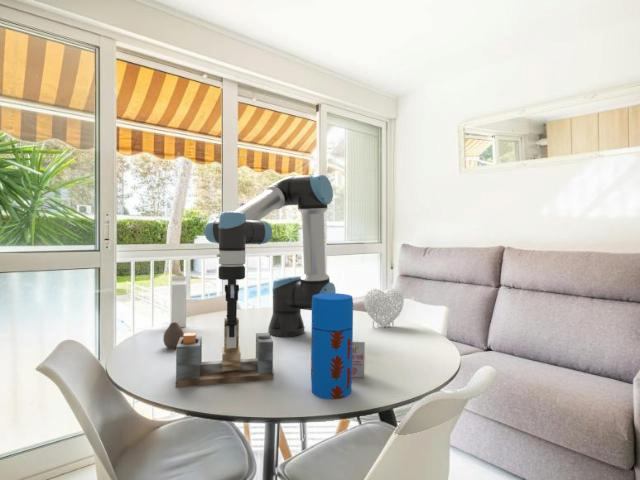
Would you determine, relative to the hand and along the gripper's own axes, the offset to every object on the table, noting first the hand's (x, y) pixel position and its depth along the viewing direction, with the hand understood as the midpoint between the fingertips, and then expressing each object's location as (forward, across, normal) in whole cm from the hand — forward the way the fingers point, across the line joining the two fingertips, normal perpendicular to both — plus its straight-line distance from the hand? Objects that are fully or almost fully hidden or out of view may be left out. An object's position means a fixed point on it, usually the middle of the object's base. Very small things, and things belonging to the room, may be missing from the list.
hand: (231, 345), depth 111 cm
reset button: (-1, 0, -11) cm, 12 cm away
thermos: (+9, +17, +25) cm, 32 cm away
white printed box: (+9, +8, +34) cm, 36 cm away
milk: (+9, -65, -21) cm, 69 cm away
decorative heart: (+9, -45, +68) cm, 82 cm away
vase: (+9, -32, -19) cm, 38 cm away
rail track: (+9, 0, -2) cm, 9 cm away
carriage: (+6, 0, 0) cm, 6 cm away
